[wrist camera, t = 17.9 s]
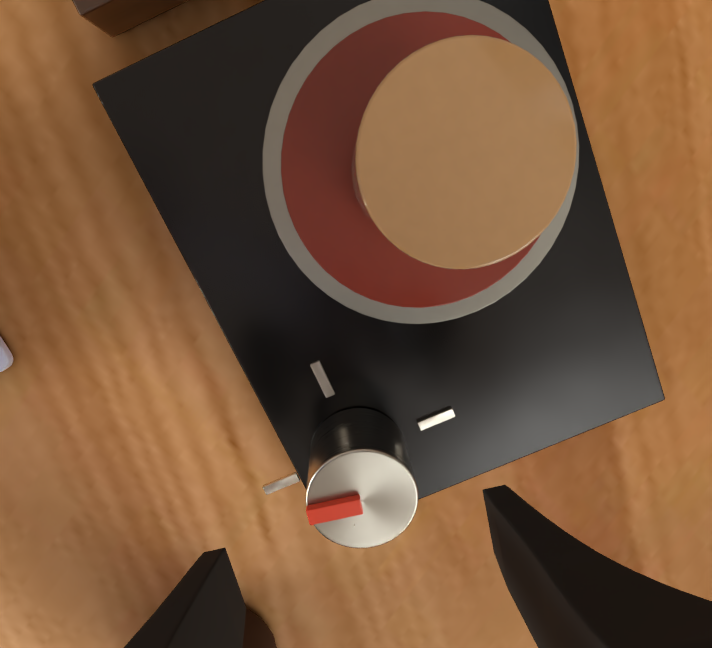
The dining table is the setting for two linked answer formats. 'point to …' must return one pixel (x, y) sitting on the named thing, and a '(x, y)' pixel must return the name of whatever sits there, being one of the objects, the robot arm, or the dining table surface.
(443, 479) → the hot plate
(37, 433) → the dining table surface
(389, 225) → the cream jar
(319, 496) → the dial
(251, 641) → the bottle
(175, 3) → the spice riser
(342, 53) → the burner
